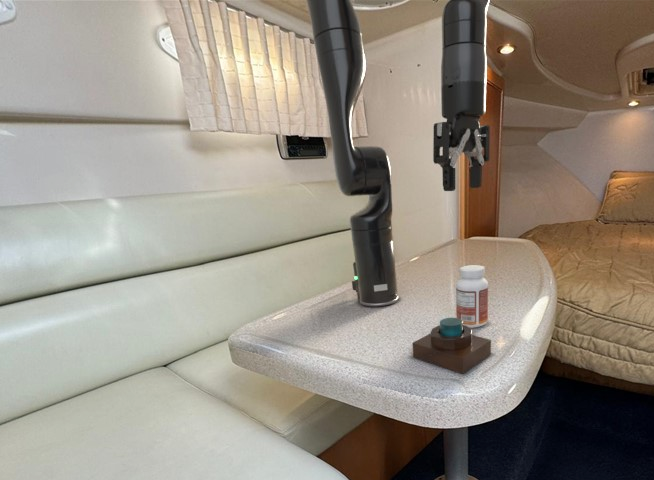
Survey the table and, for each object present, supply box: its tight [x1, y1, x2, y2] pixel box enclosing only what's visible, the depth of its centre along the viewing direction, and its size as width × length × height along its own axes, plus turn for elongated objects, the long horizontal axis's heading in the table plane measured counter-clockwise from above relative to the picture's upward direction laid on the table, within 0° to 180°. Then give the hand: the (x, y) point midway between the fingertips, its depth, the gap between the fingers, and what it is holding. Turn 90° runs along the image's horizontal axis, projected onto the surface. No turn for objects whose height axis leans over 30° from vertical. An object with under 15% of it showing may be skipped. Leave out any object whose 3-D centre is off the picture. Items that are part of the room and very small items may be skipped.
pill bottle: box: [455, 264, 489, 329], centre depth 71 cm, size 6×6×11 cm
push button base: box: [412, 324, 492, 375], centre depth 59 cm, size 10×8×4 cm
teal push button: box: [439, 317, 463, 336], centre depth 58 cm, size 4×4×2 cm
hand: (462, 189), depth 68 cm, fingers open, 8 cm apart
